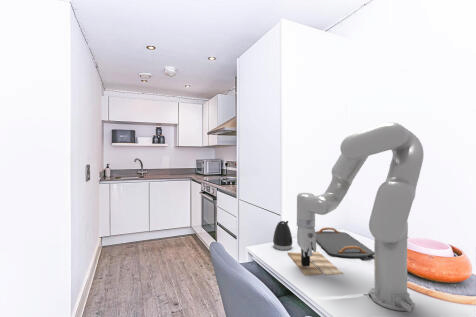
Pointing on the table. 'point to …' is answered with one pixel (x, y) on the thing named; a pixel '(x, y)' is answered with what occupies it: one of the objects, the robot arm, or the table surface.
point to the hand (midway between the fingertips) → (305, 265)
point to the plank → (305, 269)
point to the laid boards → (324, 264)
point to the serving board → (341, 244)
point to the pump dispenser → (282, 236)
